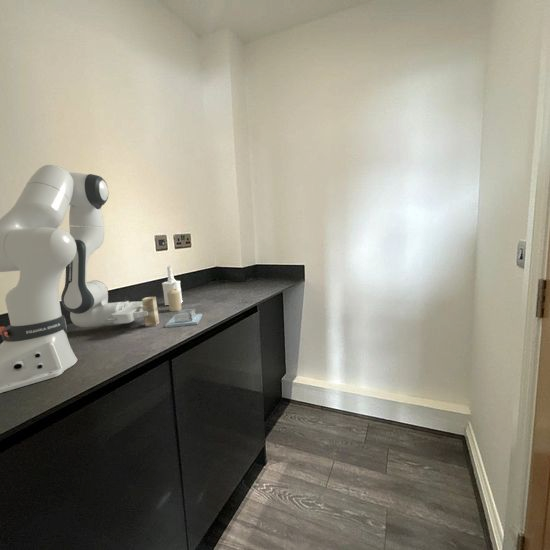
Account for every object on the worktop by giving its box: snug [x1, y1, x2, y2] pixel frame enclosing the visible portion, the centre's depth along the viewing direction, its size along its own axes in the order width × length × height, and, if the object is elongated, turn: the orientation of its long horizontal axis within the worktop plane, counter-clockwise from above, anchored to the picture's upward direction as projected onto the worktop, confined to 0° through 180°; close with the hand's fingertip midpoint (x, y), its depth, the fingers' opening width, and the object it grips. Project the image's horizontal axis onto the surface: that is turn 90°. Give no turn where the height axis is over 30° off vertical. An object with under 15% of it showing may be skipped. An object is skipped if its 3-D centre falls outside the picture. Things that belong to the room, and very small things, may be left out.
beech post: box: [141, 296, 160, 327], centre depth 117 cm, size 4×4×11 cm
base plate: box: [164, 313, 203, 328], centre depth 118 cm, size 12×12×1 cm
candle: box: [167, 289, 183, 312], centre depth 139 cm, size 6×6×10 cm
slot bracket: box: [173, 308, 197, 323], centre depth 118 cm, size 8×7×3 cm
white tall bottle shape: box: [161, 265, 184, 306], centre depth 151 cm, size 10×9×20 cm
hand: (152, 310), depth 117 cm, fingers open, 8 cm apart
